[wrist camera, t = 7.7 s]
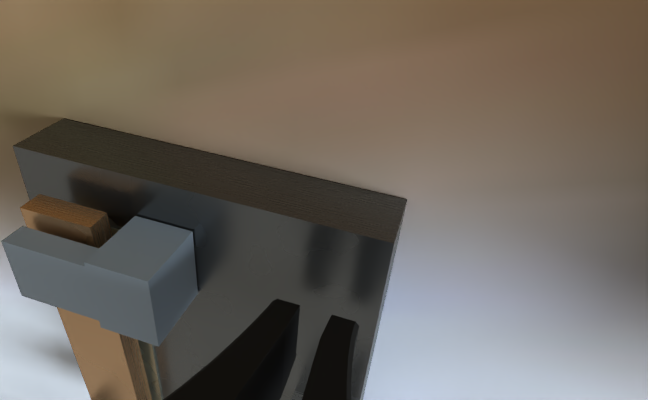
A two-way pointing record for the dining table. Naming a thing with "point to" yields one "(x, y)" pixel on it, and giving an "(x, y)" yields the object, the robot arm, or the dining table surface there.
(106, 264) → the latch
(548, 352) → the dining table surface
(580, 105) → the dining table surface
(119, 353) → the strap
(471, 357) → the dining table surface
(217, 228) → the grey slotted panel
